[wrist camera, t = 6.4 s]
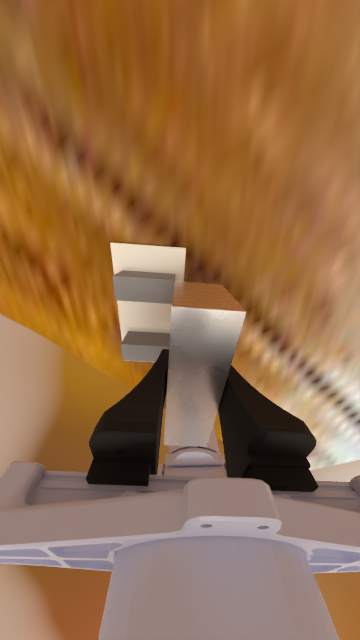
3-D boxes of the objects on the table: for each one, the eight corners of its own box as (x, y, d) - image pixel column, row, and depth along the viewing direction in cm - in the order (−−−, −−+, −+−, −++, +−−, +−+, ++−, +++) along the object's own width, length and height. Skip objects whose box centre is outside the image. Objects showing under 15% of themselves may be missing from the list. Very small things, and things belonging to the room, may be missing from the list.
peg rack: (177, 358, 25) (176, 378, 22) (126, 356, 25) (117, 375, 21) (185, 247, 18) (187, 250, 14) (113, 242, 18) (96, 243, 14)
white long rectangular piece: (200, 393, 17) (206, 446, 13) (168, 391, 17) (163, 445, 13) (221, 284, 12) (246, 311, 7) (175, 280, 12) (171, 306, 7)
